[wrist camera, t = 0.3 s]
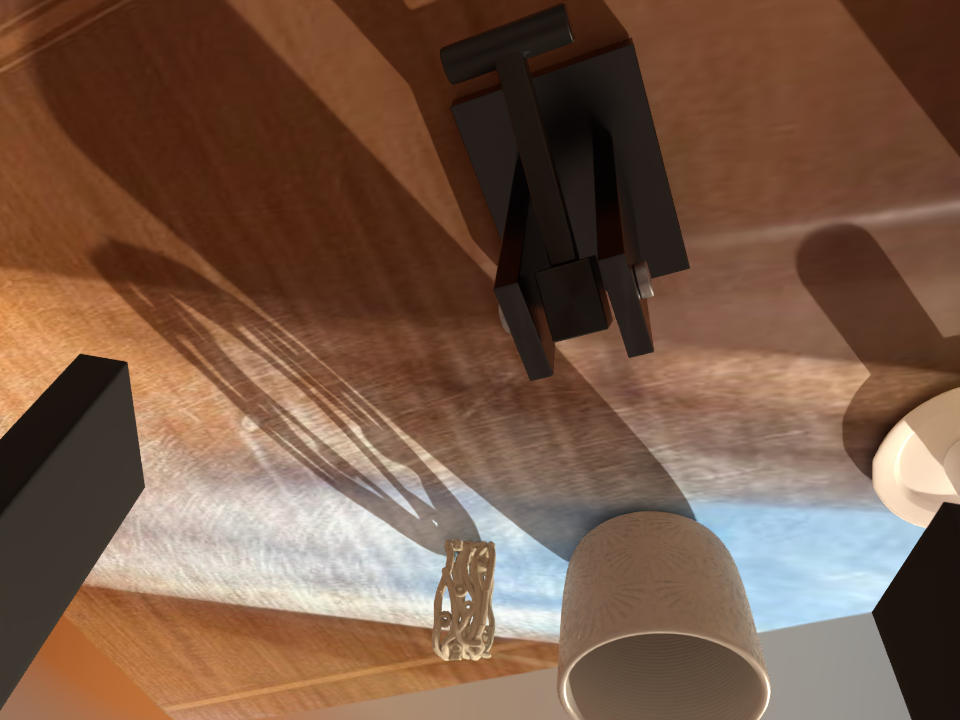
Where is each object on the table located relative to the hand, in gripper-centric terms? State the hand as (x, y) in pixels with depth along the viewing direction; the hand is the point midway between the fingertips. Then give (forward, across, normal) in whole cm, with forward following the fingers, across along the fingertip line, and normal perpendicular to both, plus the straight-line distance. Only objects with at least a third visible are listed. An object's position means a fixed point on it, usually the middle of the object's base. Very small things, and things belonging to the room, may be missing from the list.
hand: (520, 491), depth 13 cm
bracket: (+30, +2, -6) cm, 31 cm away
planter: (+30, +13, -32) cm, 46 cm away
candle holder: (+30, +29, -19) cm, 46 cm away
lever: (+21, 0, -3) cm, 21 cm away
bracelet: (+30, +1, -35) cm, 47 cm away
